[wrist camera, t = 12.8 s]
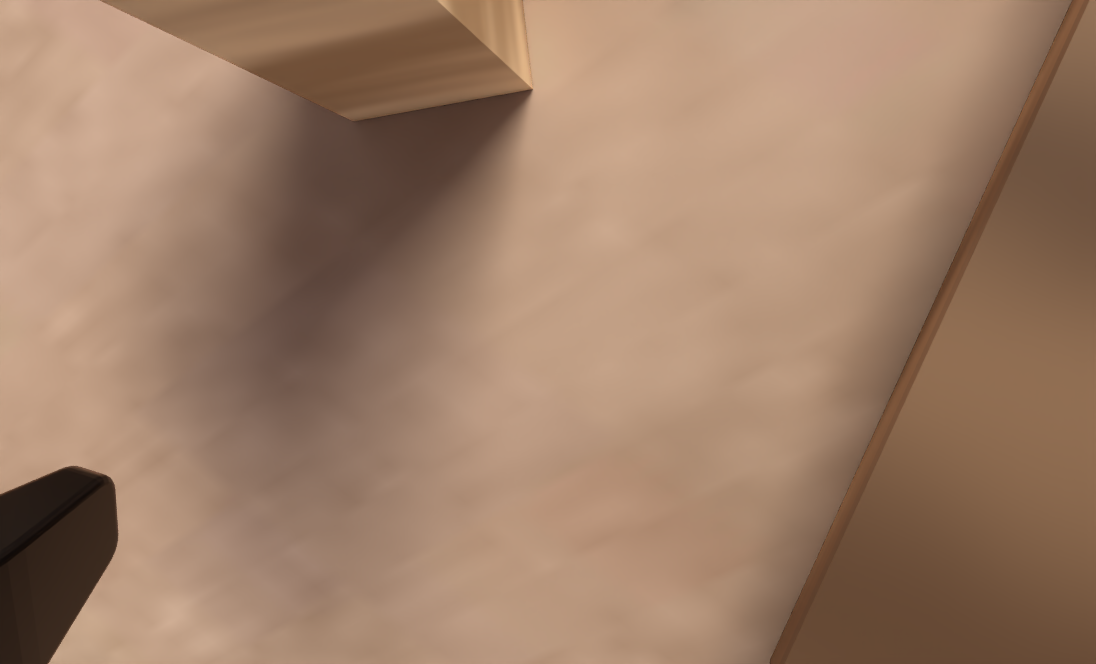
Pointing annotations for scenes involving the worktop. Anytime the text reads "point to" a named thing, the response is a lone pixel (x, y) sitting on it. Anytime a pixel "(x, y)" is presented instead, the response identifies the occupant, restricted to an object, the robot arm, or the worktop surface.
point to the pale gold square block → (359, 47)
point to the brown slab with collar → (986, 427)
